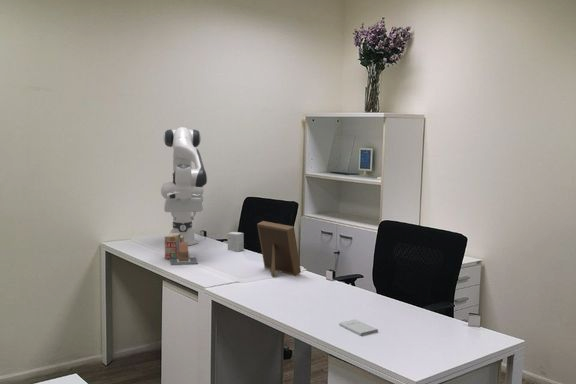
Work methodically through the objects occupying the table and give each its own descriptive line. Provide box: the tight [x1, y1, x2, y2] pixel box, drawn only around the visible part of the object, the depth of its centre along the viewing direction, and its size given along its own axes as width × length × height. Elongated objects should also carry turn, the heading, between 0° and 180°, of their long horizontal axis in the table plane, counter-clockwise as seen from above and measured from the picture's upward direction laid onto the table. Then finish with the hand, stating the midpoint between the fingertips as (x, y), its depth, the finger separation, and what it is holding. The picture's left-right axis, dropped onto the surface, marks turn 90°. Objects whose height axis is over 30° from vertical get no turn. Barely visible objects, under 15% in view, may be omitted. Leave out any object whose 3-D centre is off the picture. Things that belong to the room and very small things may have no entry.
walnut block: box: [178, 251, 190, 262], centre depth 300 cm, size 5×5×5 cm
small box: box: [227, 231, 245, 252], centre depth 331 cm, size 8×6×10 cm
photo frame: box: [256, 220, 302, 278], centre depth 280 cm, size 15×22×25 cm
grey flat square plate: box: [169, 256, 199, 266], centre depth 301 cm, size 14×14×1 cm
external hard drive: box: [338, 319, 379, 337], centre depth 204 cm, size 2×8×12 cm
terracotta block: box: [179, 242, 189, 252], centre depth 300 cm, size 4×4×4 cm
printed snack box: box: [164, 232, 184, 259], centre depth 315 cm, size 21×6×12 cm, turn 179°
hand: (183, 220), depth 298 cm, fingers open, 8 cm apart
